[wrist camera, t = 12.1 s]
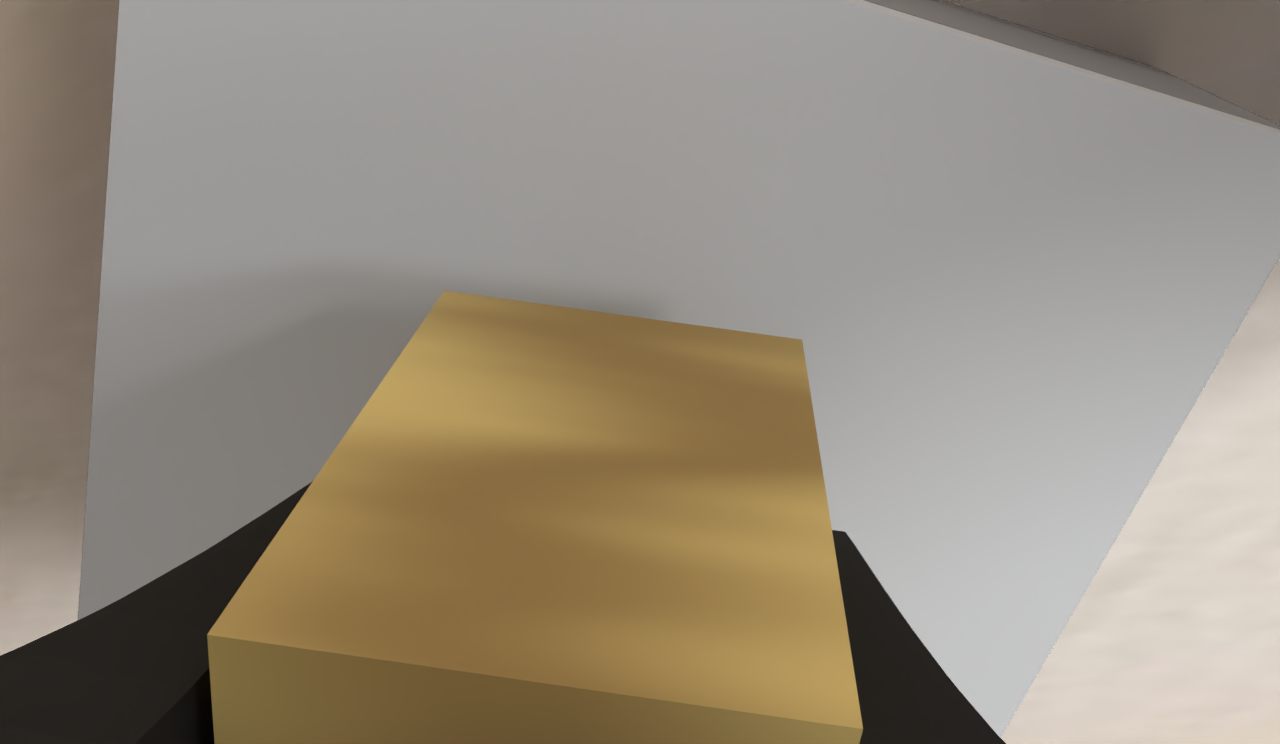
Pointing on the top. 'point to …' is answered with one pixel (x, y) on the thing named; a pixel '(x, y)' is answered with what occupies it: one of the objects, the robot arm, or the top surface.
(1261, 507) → the top surface
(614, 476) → the block
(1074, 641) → the top surface
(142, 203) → the lid
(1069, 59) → the box
